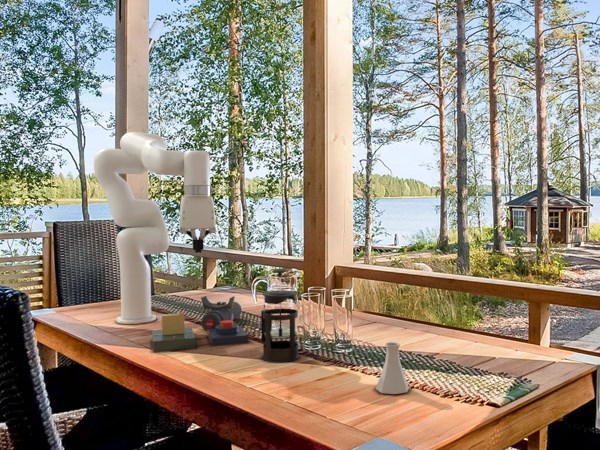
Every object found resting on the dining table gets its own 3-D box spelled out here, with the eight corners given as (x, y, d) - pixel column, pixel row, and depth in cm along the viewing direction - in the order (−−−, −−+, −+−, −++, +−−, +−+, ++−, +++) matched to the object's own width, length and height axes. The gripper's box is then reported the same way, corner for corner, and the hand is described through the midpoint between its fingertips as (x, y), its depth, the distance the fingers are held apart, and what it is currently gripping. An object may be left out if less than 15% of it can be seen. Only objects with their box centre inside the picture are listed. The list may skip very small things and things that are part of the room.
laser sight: (247, 318, 196) (247, 290, 195) (225, 334, 173) (224, 301, 173) (219, 318, 197) (219, 289, 196) (194, 333, 174) (193, 301, 174)
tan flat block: (162, 335, 159) (161, 315, 159) (162, 333, 161) (161, 313, 161) (184, 333, 161) (184, 313, 161) (184, 332, 163) (183, 312, 163)
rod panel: (152, 340, 166) (152, 329, 166) (191, 337, 170) (191, 326, 170) (153, 352, 153) (153, 340, 153) (195, 348, 157) (195, 337, 157)
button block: (207, 336, 171) (207, 323, 170) (241, 333, 174) (241, 320, 174) (212, 346, 159) (212, 331, 159) (248, 342, 163) (247, 328, 163)
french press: (308, 356, 148) (307, 269, 147) (282, 365, 141) (281, 273, 140) (276, 349, 156) (276, 266, 154) (250, 357, 148) (249, 269, 147)
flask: (374, 384, 126) (374, 340, 126) (406, 383, 127) (406, 339, 126) (377, 395, 119) (377, 348, 119) (411, 394, 120) (411, 347, 119)
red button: (220, 326, 168) (220, 320, 168) (232, 325, 169) (232, 319, 169) (221, 329, 164) (221, 323, 164) (234, 328, 166) (234, 322, 166)
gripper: (220, 192, 178) (221, 250, 179) (170, 191, 172) (171, 252, 173) (224, 191, 171) (225, 252, 172) (171, 191, 165) (172, 254, 166)
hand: (198, 252), depth 172 cm, fingers closed
